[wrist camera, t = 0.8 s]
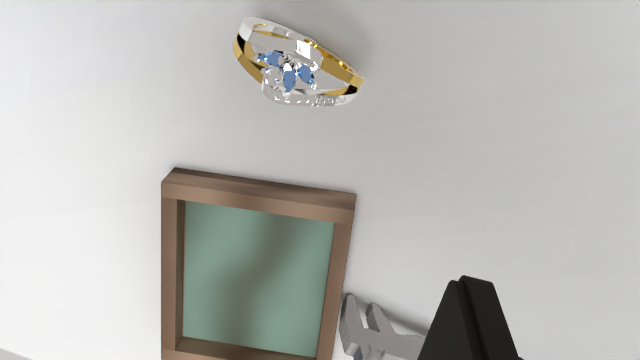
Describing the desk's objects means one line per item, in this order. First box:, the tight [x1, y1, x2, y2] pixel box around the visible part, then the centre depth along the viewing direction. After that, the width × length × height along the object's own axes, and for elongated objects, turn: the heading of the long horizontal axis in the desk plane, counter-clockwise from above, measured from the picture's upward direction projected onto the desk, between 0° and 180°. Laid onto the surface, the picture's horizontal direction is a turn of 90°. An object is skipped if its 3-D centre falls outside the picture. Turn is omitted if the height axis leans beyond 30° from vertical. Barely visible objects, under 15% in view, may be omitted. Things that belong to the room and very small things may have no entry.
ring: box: [233, 17, 366, 106], centre depth 29 cm, size 7×3×8 cm, turn 60°
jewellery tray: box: [161, 168, 356, 360], centre depth 38 cm, size 12×14×2 cm
